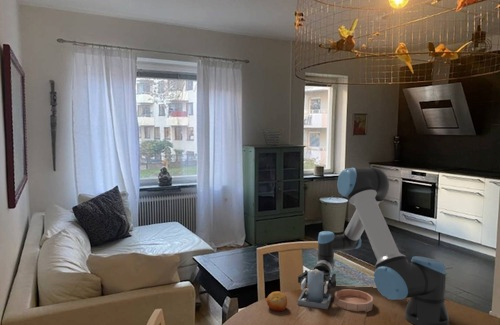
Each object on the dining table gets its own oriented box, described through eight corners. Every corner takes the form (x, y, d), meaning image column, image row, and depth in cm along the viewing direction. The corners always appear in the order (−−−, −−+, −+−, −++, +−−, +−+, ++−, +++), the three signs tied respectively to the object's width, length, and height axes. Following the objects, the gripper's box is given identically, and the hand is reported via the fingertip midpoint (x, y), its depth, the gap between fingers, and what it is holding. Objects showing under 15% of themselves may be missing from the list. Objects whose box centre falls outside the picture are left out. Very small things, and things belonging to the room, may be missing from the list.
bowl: (373, 300, 161) (373, 292, 161) (371, 315, 147) (372, 306, 147) (336, 295, 166) (337, 287, 166) (332, 309, 152) (332, 300, 152)
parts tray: (331, 299, 162) (331, 293, 161) (327, 311, 150) (327, 304, 150) (303, 295, 166) (303, 289, 165) (297, 306, 154) (297, 299, 154)
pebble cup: (324, 299, 160) (324, 268, 159) (321, 305, 154) (322, 273, 153) (308, 297, 162) (309, 266, 161) (305, 302, 156) (306, 271, 155)
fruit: (287, 300, 156) (287, 288, 152) (286, 318, 150) (287, 305, 145) (267, 299, 157) (267, 287, 153) (266, 316, 151) (266, 304, 146)
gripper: (346, 282, 171) (340, 301, 150) (299, 276, 178) (287, 293, 157) (346, 265, 171) (340, 282, 149) (299, 260, 178) (287, 275, 157)
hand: (313, 288), depth 153 cm, fingers open, 9 cm apart
